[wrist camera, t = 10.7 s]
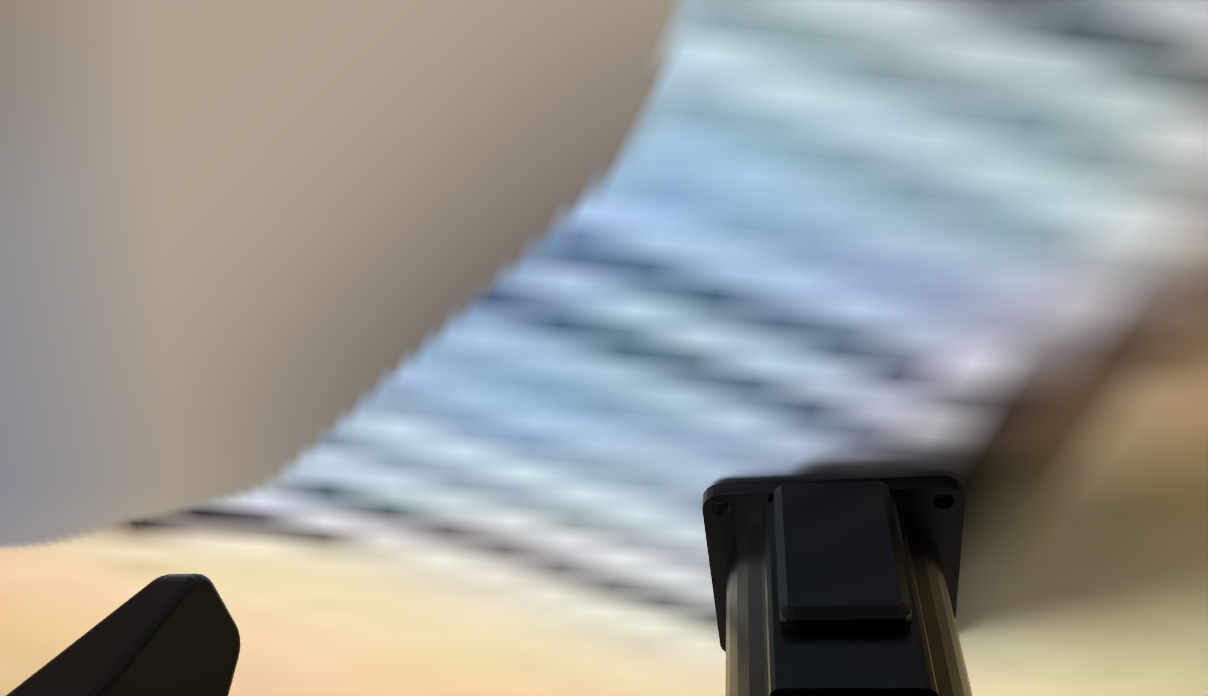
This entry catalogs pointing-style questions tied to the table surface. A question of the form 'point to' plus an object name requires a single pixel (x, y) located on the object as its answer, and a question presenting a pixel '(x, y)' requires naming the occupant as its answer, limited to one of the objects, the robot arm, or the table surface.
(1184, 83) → the table surface
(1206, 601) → the table surface
